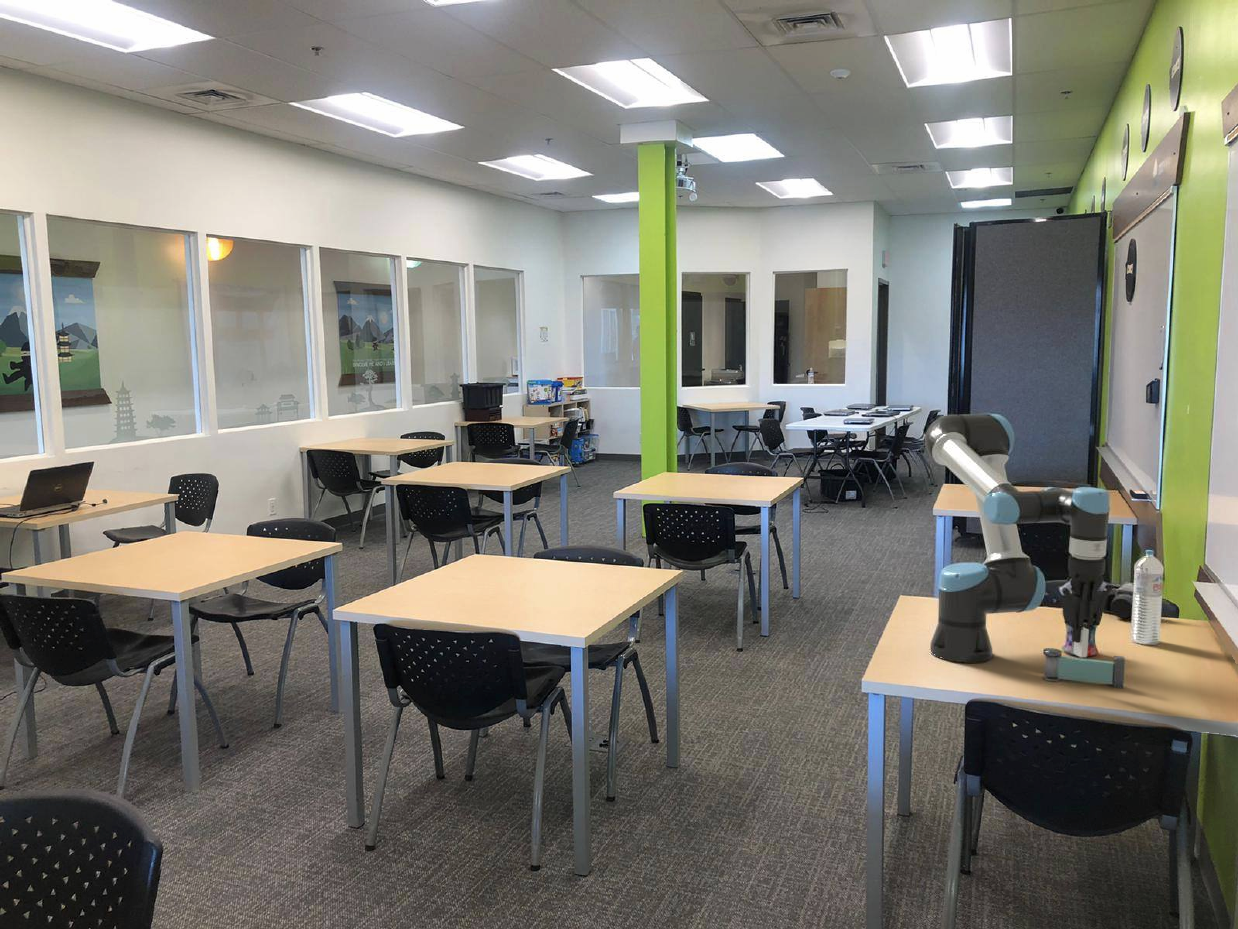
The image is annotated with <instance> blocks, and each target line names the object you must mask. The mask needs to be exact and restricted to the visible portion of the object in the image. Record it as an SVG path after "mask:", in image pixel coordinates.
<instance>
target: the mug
mask: <svg viewBox="0 0 1238 929" xmlns="http://www.w3.org/2000/svg"><path fill="white" fill-rule="evenodd" d="M1061 614H1062V616H1063V618H1064V614H1063V610H1062V611H1061ZM1093 627H1095V629H1094V630H1091V639H1090V642H1088V649H1087V657H1091V656H1096V655H1097V654H1099V650H1098V647H1097V644H1096V633H1097V632H1096V631H1097V628H1098V626H1097V625H1095V626H1093ZM1065 628H1066V629H1065V632H1066V633H1065V639H1064V642H1063V645H1062V646H1061V649H1062V650H1063V651H1064V653H1065V652H1066V653H1067V654H1070V655H1074V656H1076V655H1075V654H1073V650H1074V641H1072V631H1073V628H1072V627H1071V626H1068V625H1066V624H1065Z"/></svg>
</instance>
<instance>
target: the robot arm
mask: <svg viewBox="0 0 1238 929" xmlns="http://www.w3.org/2000/svg"><path fill="white" fill-rule="evenodd" d="M1014 443H1015V432H1014V429H1013V427H1012V425H1011V423H1010V422H1009V420H1008V419H1007V418H1005V417H1004V416H1002V415H1001V414H997V413H987V412H983V413H973V414H972V413H969V414H966V413H963V414H946V415H943V416H941V417H938V418H937V419H935V420H934V421H933V422H932V423H931V424H930V425H929V426H928V428H927V430H926V432H925V435H924V445H925V449H926V451H927V453H928V454H929V456H930V458H931V459H933V461H934V462H936V464H938V465H941V466H946V468H948V469H949V470H950V471H951V473H953V475H955V476H956V477H957V478H958V479H959V480H960V481H961V482H962V483H963V484H964V485H965V486H966V487H967V488H968V489H969V490H970V491H971V492H973V494H974V495H975V500H976V503H977V505H976V506H977V510H978V516H979V520H980V521H979V522H980V525H981V526H980V527H981V531H982V536H983V540H984V545H985V550H986V555H987V556H986V559H985V560H984V561H983V563H980V562H974V561H973V562H968V561H967V562H956V563H952V564H949V565H946V566H945V567H944V568H942V569H941V571H940V574H939V580H938V612H937V613H938V617H937V618H938V620H937V626H936V627H935V631H934V633H933V636H932V638H931V641H930V650H931V652H932V653H933V654H935V655H936V656H938V657H942V658H944V659H947V660H946V661H948V660H950V661H949V662H953V661H957V662H956V663H961V662H964V663H965V664H966V663H967V664H977V663H985V662H988V661H991V659H993V646H992V643H991V640H990V636H989V633H988V629H987V615H990V614H1003V613H1005V614H1006V613H1018V614H1019V613H1023V612H1030V611H1034V610H1035V609H1037V608H1039V606H1040V605H1041V603H1042V602H1043V599H1044V598H1045V594H1046V580H1045V579H1046V578H1045V576H1044V575H1045V574H1044V573H1043V571H1041V569H1040V568H1039V567H1038V566H1035V565H1032V563H1031V558H1030V556H1028V555H1027V554H1025V553H1024V551H1023V550H1022V545H1021V540H1020V536H1019V531H1018V526H1017V525H1020V524H1039V523H1040V524H1041V523H1042V524H1043V523H1062V524H1066V525H1068V526H1070V533H1069V545H1068V553H1069V554H1070V555H1068V562H1067V570H1068V574H1069V575H1068V577H1067V579H1066V583H1065V584H1063V585H1058V586H1057V587H1056V589H1057V592H1058V593H1059V595H1060V602H1061V606H1062V608H1061V609H1062V611H1063V614H1064V617H1063V620H1064V624H1065V626H1066V625H1068V626H1071V627H1072V628H1073V631H1072V641H1074V650H1073V654H1075V655H1074V656H1077V657H1078V658H1087V657H1088V656H1087V649H1088V642H1090V639H1091V630H1094V629H1095V627H1093V626H1095V625H1097V627H1098V626H1100V625H1101V621H1102V618H1103V613H1104V612H1103V611H1104V608H1105V604H1106V601H1107V597H1108V594H1109V593H1110V591H1111V590H1112V585H1109V583H1106V582H1105V581H1104V577H1103V576H1104V574H1105V570H1106V559H1105V558H1104V557H1105V556H1106V555H1107V543H1108V528H1109V520H1110V519H1109V518H1110V510H1111V507H1110V493H1109V492H1108V490H1106V489H1104V488H1098V487H1091V486H1089V487H1088V486H1081V487H1080V486H1079V487H1077V488H1075V489H1073V491H1070V490H1066V489H1063V488H1062V487H1052V486H1048V487H1045V488H1043V489H1041V490H1027V491H1025V490H1024V491H1021V490H1018V489H1017V488H1016V487H1015V486H1014V485H1012V483H1011V482H1010V481H1008V477H1007V472H1006V468H1005V465H1006V463H1007V462H1008V461H1009V459H1010V458H1009V457H1010V456H1009V455H1010V454H1011V453H1012V451H1013V450H1014V445H1015V444H1014ZM930 650H929V651H930ZM931 652H930V653H931ZM932 653H931V654H932ZM933 654H932V655H933ZM1073 654H1072V655H1073ZM936 656H935V657H936ZM938 657H937V658H938ZM944 659H943V660H944Z"/></svg>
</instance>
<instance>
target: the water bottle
mask: <svg viewBox="0 0 1238 929" xmlns="http://www.w3.org/2000/svg"><path fill="white" fill-rule="evenodd" d="M1154 554H1155V551H1154V550H1152V549H1146V550H1145V555H1144V556H1142V557H1141V558H1139V559H1138V560H1136V562H1135V563H1134V566H1133V570H1134V575H1133V577H1134V578H1133V583H1134V591H1133V601H1132V617H1131V624H1130V641H1132V642H1133V643H1136V644H1138V645H1143V646H1155V645H1158V644H1159V643H1160V639H1161V622H1162V608H1163V607H1162V605H1163V603H1162V602H1163V580H1164V578H1163V576H1164V569H1165V568H1164V566H1163V564H1162V562H1161V561H1160V560H1159V559H1158V558H1156V556H1154Z"/></svg>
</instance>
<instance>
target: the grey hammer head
mask: <svg viewBox="0 0 1238 929" xmlns="http://www.w3.org/2000/svg"><path fill="white" fill-rule="evenodd" d="M1042 653H1043V655H1044V656H1045V655H1046V656H1050V657H1061V656H1062V655H1063V651H1062V650H1060V649H1058V648H1053V647H1051V648H1050V647H1048V648H1043V652H1042ZM1062 657H1063V656H1062ZM1042 680H1044V681H1046V682H1051V683H1058V682H1061V680H1062V679H1059V678H1057V677H1056V678H1052V677H1047V676H1045V674H1043V675H1042Z"/></svg>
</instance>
